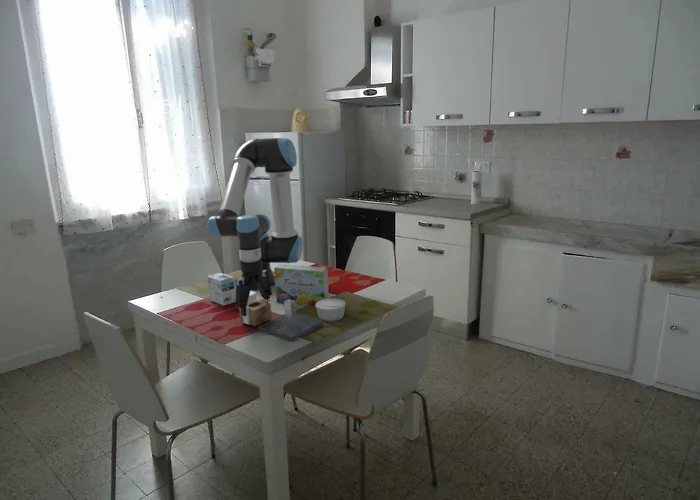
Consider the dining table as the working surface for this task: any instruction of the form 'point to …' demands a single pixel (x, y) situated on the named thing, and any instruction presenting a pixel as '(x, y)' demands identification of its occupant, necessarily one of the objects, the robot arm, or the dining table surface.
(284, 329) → the shaft plate
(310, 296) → the snack box
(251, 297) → the white tapered pot
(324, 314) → the ramekin
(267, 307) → the walnut collar
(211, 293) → the light bulb box
